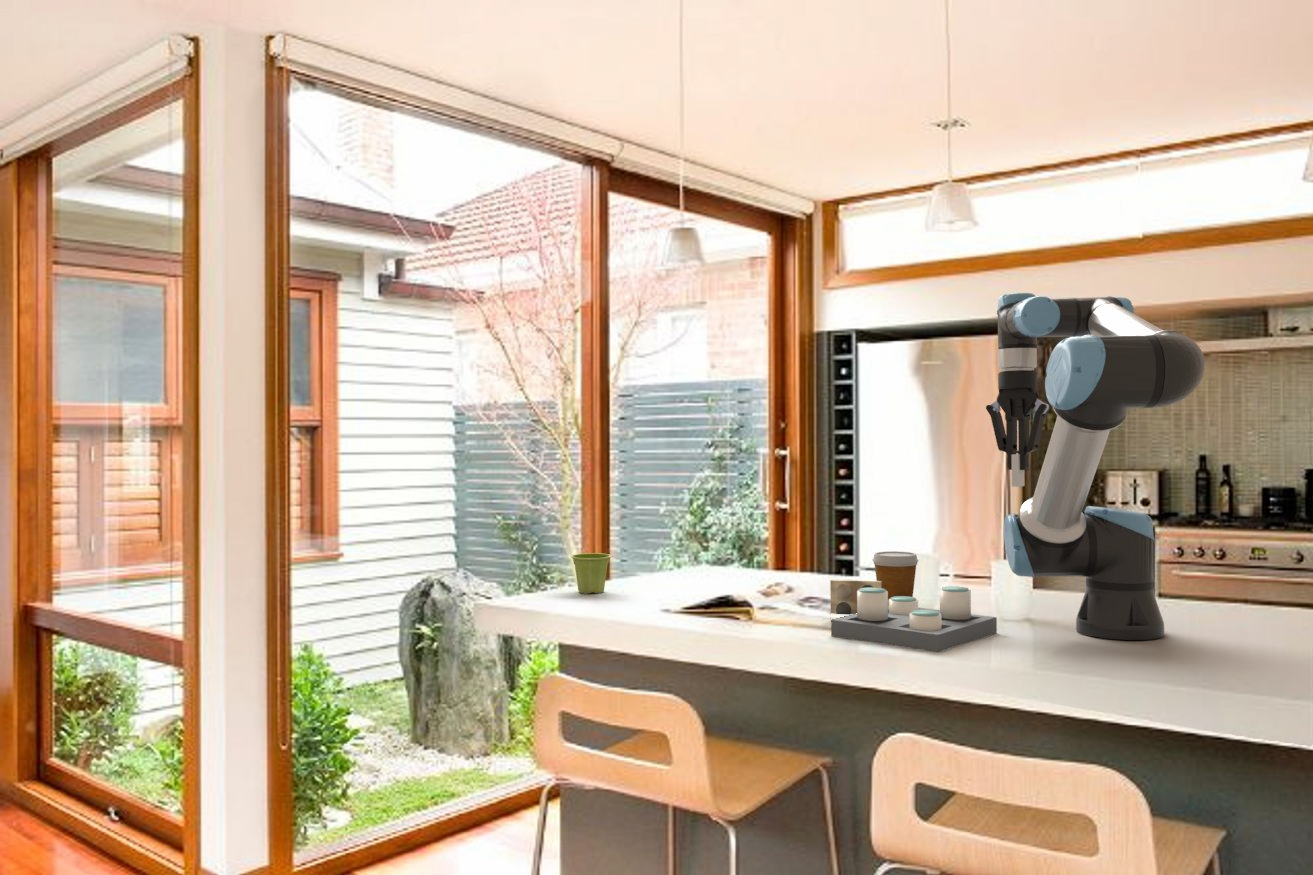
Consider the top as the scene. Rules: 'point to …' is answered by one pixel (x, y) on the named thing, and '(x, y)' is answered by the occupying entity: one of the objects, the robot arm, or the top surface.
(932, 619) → the button
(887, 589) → the disposable coffee cup
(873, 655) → the top surface
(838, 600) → the card
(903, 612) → the button
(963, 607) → the button
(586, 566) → the plant pot
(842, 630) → the board
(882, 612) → the button
